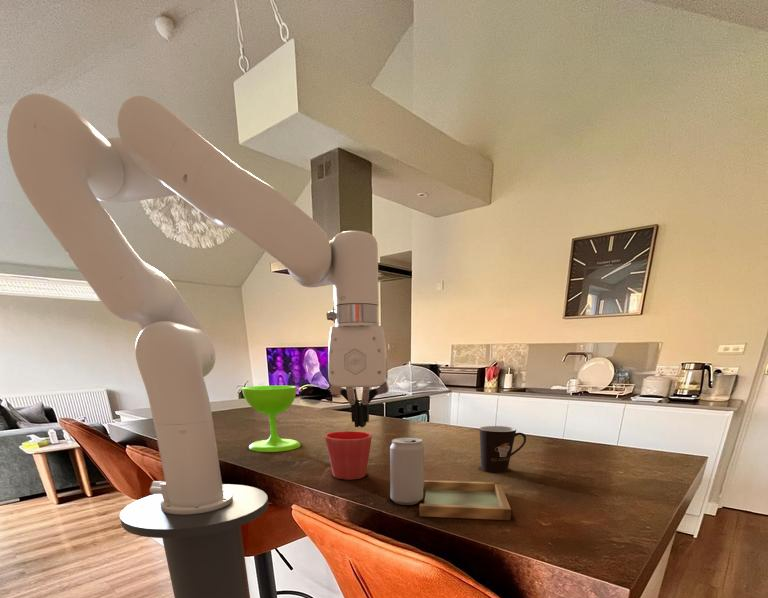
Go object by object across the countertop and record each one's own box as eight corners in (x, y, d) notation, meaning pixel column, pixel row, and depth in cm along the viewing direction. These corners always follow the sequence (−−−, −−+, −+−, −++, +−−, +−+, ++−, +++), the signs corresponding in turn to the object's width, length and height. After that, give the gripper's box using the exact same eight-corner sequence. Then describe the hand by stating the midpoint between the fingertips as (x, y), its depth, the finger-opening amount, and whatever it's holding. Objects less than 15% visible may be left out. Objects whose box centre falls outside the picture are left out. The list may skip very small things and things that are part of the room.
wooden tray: (419, 516, 74) (419, 505, 74) (424, 489, 89) (424, 480, 89) (510, 520, 72) (511, 509, 71) (499, 491, 87) (500, 482, 87)
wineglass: (302, 450, 128) (298, 388, 121) (247, 453, 124) (240, 389, 117) (298, 440, 142) (294, 385, 136) (249, 443, 138) (242, 386, 132)
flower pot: (381, 473, 102) (381, 433, 98) (353, 484, 93) (352, 440, 90) (346, 467, 107) (345, 429, 104) (317, 477, 98) (315, 436, 95)
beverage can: (406, 508, 78) (407, 444, 74) (383, 500, 82) (382, 439, 78) (429, 501, 82) (431, 439, 78) (406, 493, 86) (407, 435, 82)
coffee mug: (476, 472, 101) (480, 431, 98) (476, 464, 109) (478, 425, 106) (527, 474, 100) (532, 432, 96) (522, 466, 107) (527, 426, 104)
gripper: (308, 317, 70) (316, 429, 76) (397, 315, 68) (398, 429, 74) (320, 321, 77) (327, 422, 83) (402, 318, 75) (402, 423, 81)
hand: (360, 425), depth 78 cm, fingers closed
